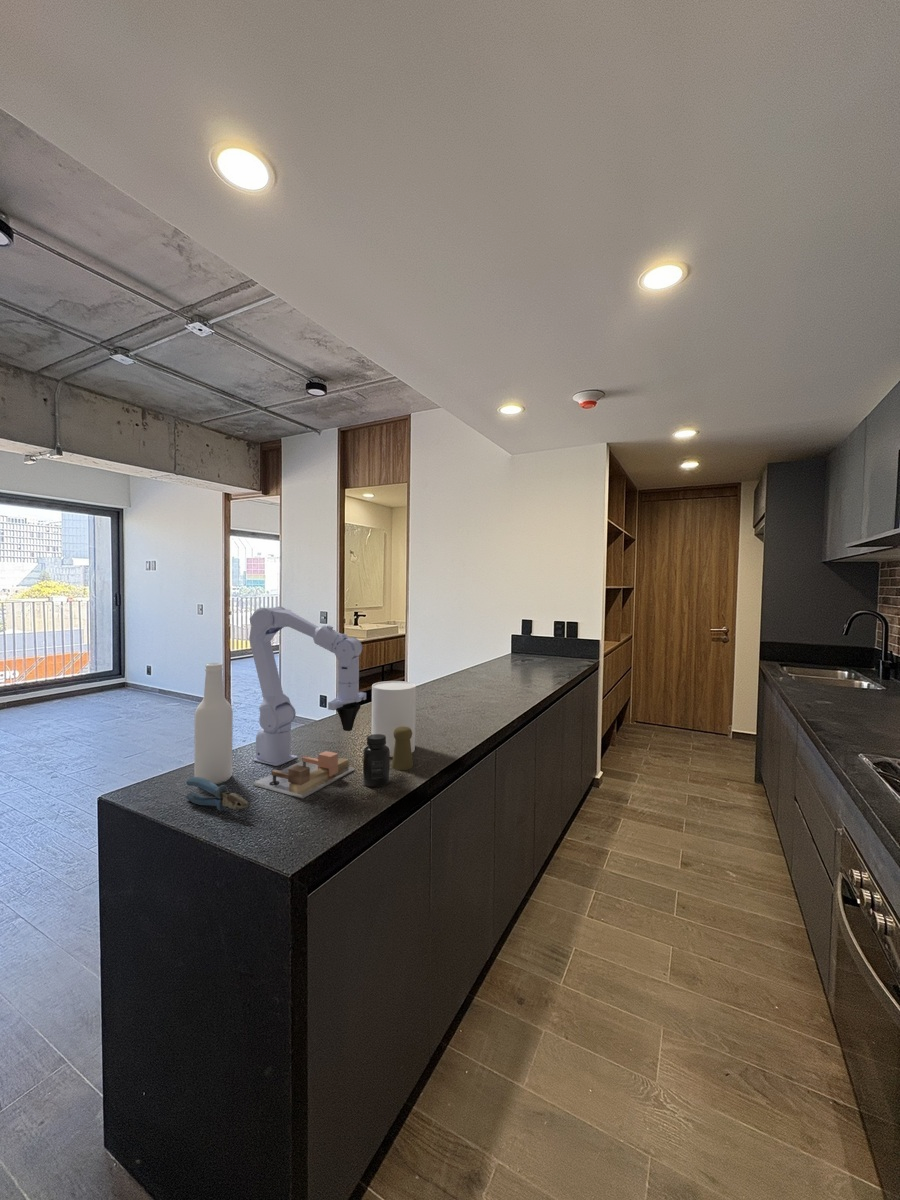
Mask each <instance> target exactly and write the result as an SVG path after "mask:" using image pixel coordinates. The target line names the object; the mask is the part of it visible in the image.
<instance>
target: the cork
mask: <svg viewBox="0 0 900 1200" xmlns="http://www.w3.org/2000/svg"><path fill="white" fill-rule="evenodd" d="M411 737H412V730H411V729H410V728H409V727H397V728H396V729H395V730H394V738H395V739H396V740H395V746H394V753H393V757H392V761H391V768H392V769H394V770H396V771H408V770H411V769H412V768H413V767H414V763H413V752H411V743H410V739H411Z"/></svg>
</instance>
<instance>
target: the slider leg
mask: <svg viewBox="0 0 900 1200" xmlns="http://www.w3.org/2000/svg"><path fill="white" fill-rule="evenodd" d="M338 756H339V753H337V752H333V751H327V750H324V751H323V752H320V753H319V754H318V755H317V758H314V757H311V756H310V757H309V756H302V757H301V761H303V766H304V767H306V762H308V763H312V764H317V765H318V769H320V768H322V767H323V768H327V769H329V776H330V777H331V776H332V775H334V774H336V773H338V759H339V758H338Z"/></svg>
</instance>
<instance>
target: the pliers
mask: <svg viewBox="0 0 900 1200" xmlns="http://www.w3.org/2000/svg"><path fill="white" fill-rule="evenodd" d="M186 785H187V786H191V787H197V788H200V789H202V790H204V791H206V792H208V793H210V794H212V795H213V796H204V795H201V794H198V793H197V792H195V791H189V792H188V793H187V794H186V799H187V800H188V801H190V803H193V804H195V805H199V806H216V809H217V810H218V811H224V810H225V809H226V808H227V807H228V808H229V809H231V810H239V809H246V808H248V807H250V802H249V801H247V799H245V798H244V797H242V795H240V794H237V793H234V792H229V791H228V787H227V786H226V785H225V784H221V785H220V786H218V784H216V785H215V784H214V783H212V782H211V781H209V780H207V779H204V778H200V777H194V776H192V777H189V778H188V779H187V780H186Z"/></svg>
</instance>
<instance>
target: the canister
mask: <svg viewBox="0 0 900 1200" xmlns="http://www.w3.org/2000/svg"><path fill="white" fill-rule="evenodd" d="M416 692H417V684H416V683H413V682H410V681H403V680H387V681H378V682H375V683H373V684H372V685H371V724H370V725H371V730H370V731H371V734H370V735H373V734H382V735H385V736H386V744H385V745H386V746H387V747H388V748H389V750H390V758H393V753H394V746H395V740H396V739H395V738H394V730H395V729H396V728H397V727H409V728H410V729H411V730H412V737H411V739H410V743H411V752H412V753H414V752H415V751H416V750H415V749H416V708H417V707H416V706H417V703H416V702H417V700H416V699H417V693H416Z"/></svg>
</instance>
